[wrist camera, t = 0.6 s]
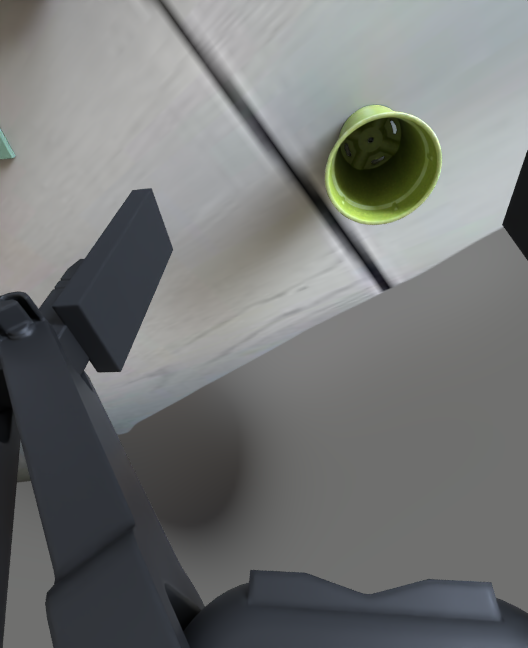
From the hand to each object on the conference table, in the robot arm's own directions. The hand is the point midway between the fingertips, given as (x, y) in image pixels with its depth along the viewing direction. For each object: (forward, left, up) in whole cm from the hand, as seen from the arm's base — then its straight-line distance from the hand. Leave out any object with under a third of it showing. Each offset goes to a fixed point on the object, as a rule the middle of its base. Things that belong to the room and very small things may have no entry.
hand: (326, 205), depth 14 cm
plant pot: (+7, +5, -28) cm, 29 cm away
